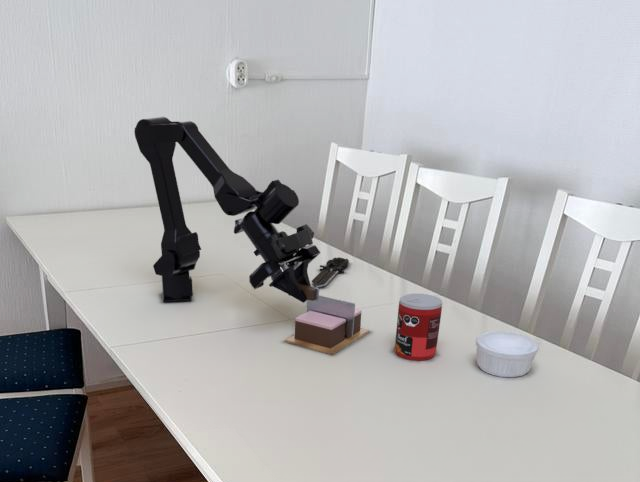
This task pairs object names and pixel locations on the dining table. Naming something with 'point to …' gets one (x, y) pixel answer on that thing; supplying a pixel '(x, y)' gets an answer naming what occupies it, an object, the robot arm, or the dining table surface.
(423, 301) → the canned food
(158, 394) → the dining table surface
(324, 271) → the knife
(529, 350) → the ramekin
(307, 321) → the cake
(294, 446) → the dining table surface
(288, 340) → the cake board
